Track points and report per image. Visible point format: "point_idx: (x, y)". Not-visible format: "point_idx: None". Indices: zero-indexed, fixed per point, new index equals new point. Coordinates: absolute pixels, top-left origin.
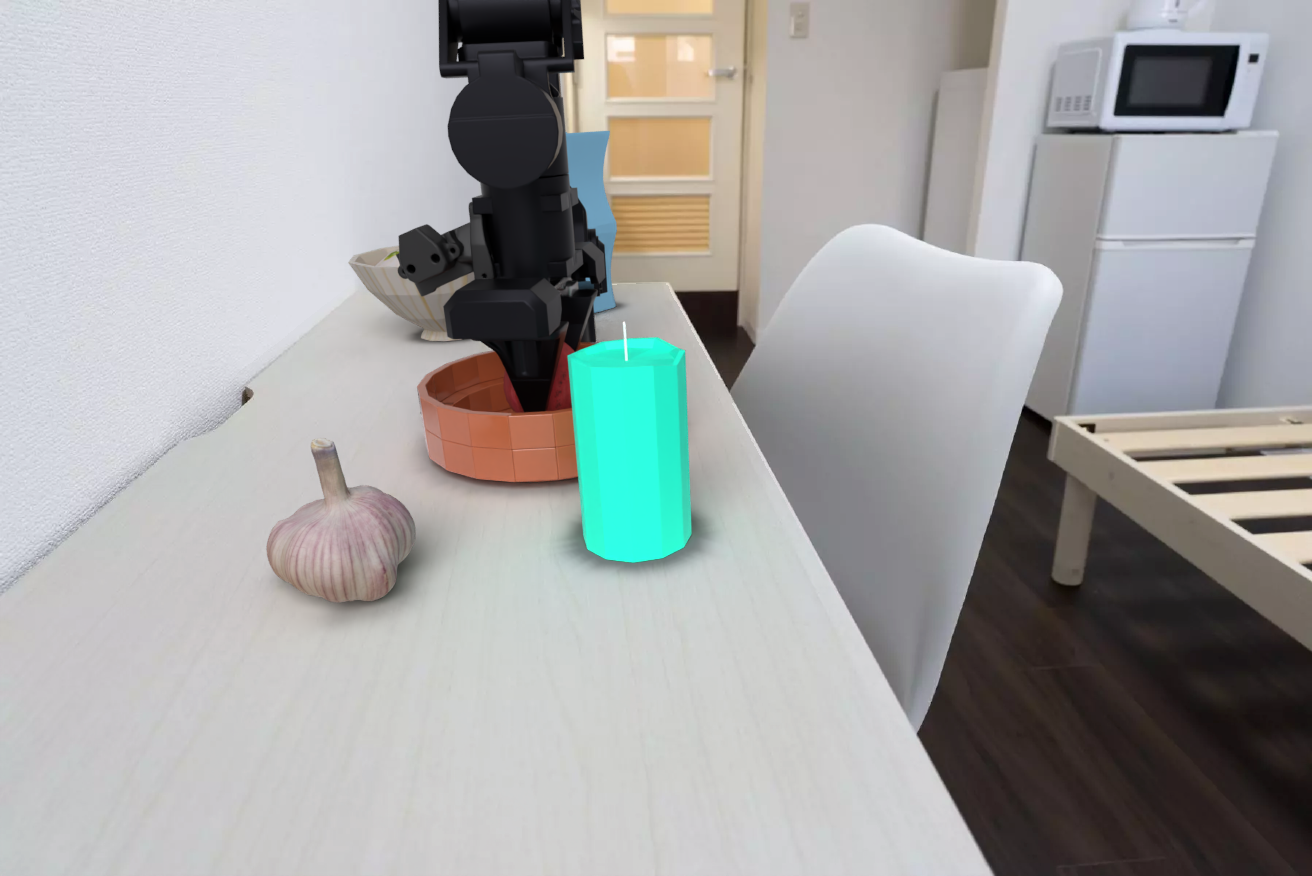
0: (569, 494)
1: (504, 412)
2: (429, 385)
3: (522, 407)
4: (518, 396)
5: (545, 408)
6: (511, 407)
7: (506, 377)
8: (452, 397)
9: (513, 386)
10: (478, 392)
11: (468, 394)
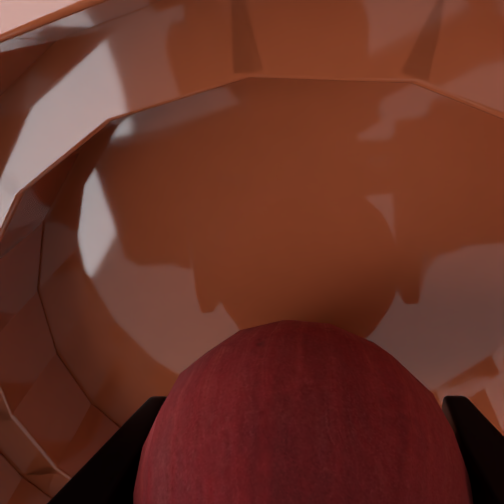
0: None
1: (498, 153)
2: (48, 27)
3: (119, 429)
4: (84, 467)
5: None
6: (226, 340)
7: (175, 449)
8: (347, 10)
9: (51, 501)
10: (474, 107)
11: (410, 82)
